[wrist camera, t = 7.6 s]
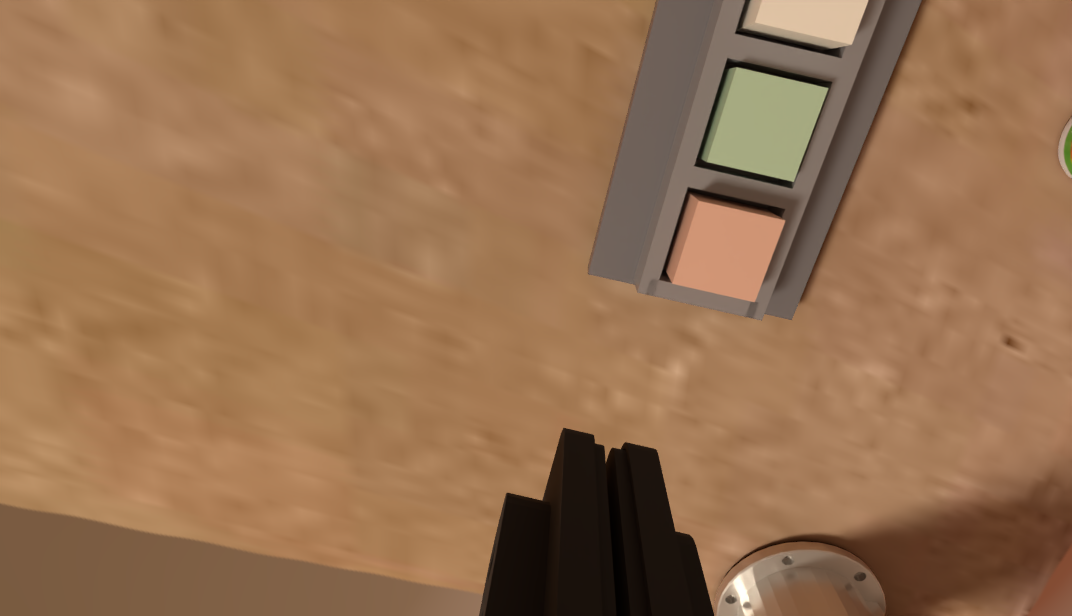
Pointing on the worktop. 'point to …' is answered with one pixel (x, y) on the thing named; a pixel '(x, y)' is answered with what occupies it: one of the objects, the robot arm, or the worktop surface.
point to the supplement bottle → (1066, 149)
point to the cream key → (804, 21)
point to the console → (673, 167)
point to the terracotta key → (722, 246)
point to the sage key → (761, 123)
